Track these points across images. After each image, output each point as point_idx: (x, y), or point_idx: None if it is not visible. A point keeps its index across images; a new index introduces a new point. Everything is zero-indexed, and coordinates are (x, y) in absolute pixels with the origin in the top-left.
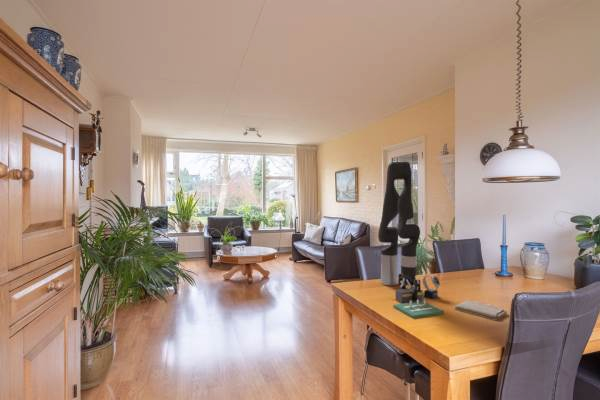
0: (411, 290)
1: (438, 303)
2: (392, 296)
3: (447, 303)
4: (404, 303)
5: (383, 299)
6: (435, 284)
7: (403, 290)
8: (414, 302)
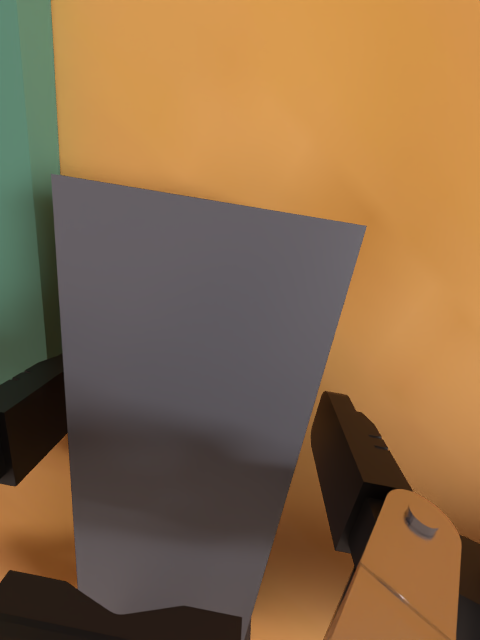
0: (142, 504)
1: (37, 511)
2: (454, 313)
3: (20, 555)
4: (23, 137)
5: (464, 54)
6: None
7: (214, 382)
8: (31, 312)
